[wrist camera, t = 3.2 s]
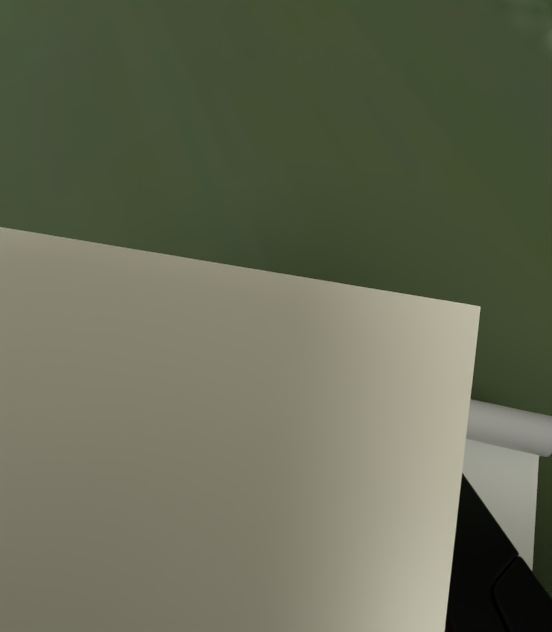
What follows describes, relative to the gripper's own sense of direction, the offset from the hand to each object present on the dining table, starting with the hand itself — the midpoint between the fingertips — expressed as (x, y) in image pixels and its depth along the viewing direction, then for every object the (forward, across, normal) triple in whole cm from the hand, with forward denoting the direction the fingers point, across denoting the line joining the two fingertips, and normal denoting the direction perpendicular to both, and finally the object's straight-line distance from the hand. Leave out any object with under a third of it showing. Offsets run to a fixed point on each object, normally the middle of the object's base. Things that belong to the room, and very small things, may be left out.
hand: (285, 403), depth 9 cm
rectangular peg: (+4, 0, +6) cm, 7 cm away
